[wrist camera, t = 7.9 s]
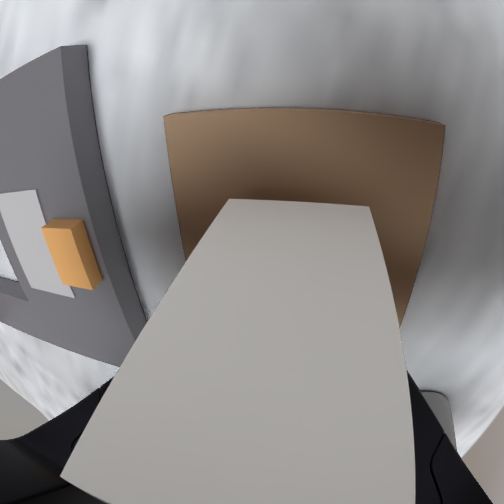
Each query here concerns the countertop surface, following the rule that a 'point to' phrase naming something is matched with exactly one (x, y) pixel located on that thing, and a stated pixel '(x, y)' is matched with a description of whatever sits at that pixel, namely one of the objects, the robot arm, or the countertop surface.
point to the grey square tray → (61, 215)
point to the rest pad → (311, 171)
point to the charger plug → (262, 373)
